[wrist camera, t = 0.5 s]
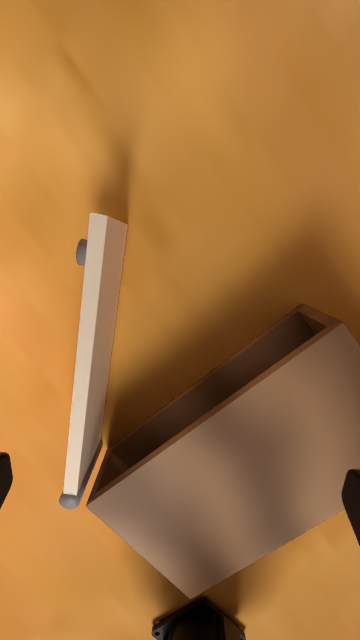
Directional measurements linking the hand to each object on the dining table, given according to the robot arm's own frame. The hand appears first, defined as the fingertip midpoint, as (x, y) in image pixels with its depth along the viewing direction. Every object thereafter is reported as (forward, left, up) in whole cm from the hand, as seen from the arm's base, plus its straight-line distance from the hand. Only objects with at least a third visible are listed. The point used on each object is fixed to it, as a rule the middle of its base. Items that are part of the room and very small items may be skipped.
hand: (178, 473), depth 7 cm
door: (-5, +3, -12) cm, 14 cm away
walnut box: (-1, -8, -12) cm, 15 cm away
